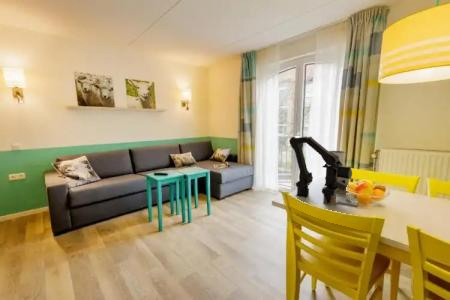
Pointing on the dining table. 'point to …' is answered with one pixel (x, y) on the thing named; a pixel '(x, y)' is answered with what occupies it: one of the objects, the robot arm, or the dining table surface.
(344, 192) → the coffee box
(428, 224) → the dining table surface
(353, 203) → the grey square slab
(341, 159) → the speaker
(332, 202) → the open wooden cubby
